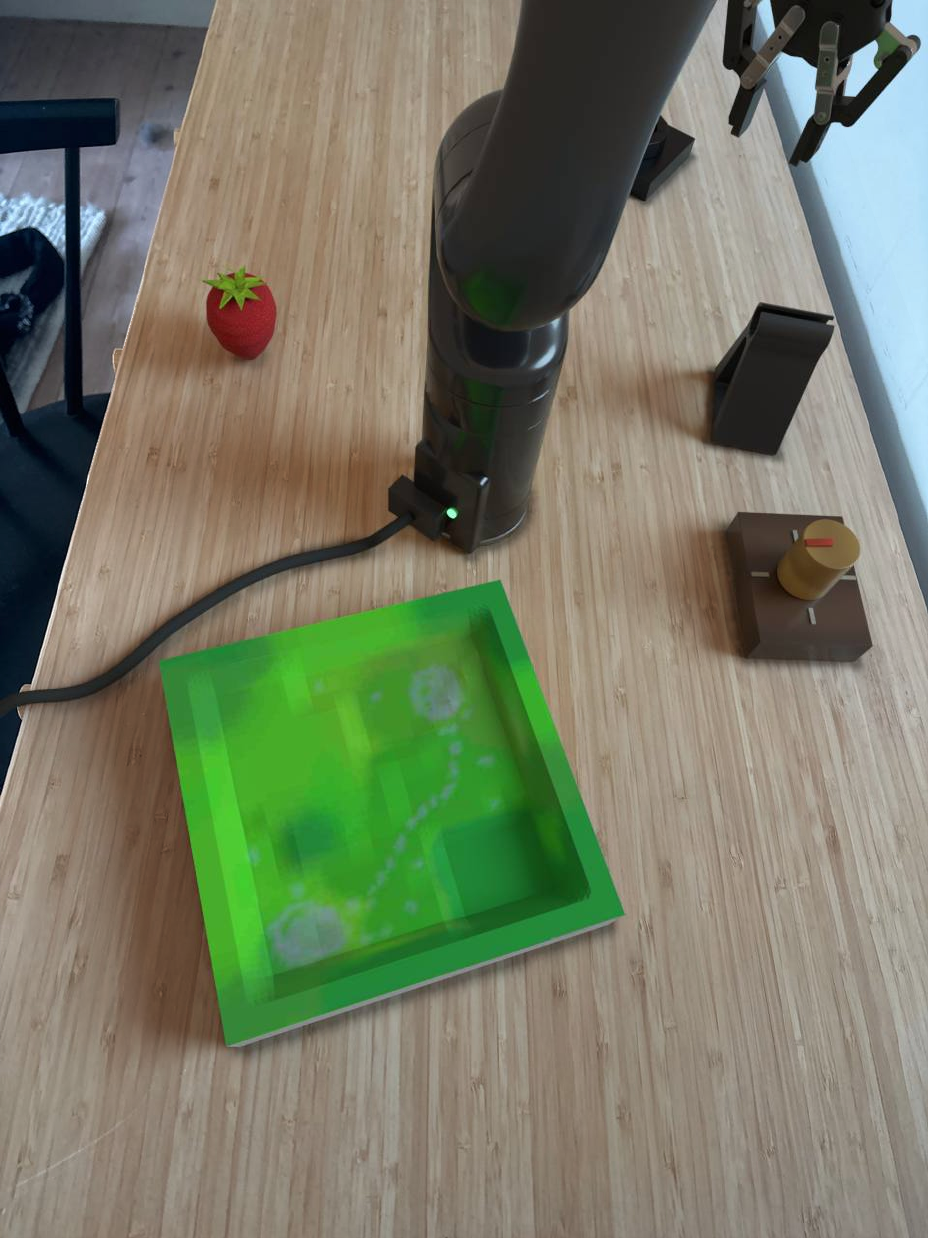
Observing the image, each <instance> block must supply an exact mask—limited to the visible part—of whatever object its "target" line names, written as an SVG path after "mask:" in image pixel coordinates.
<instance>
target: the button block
mask: <svg viewBox="0 0 928 1238" xmlns="http://www.w3.org/2000/svg"><path fill="white" fill-rule="evenodd" d="M695 141H696V137H694V136H692V135H689V134H688V133H686V132H684V131H682V130H679V129H678V128H676V127H674V126H672V125H670V124H669V123H668V122H667V121H666V119H665V118H664V116H662V115H661V114H660V117H659V119H658V121H657V124H656V126H655V129H654V132H653V134H652V136H651V138H650V141H649V143H648V146H647V148H646V151H645V153H644V156H643V159H642V161H641V164H640V167H639V170H638V172H637V175H636V178H635V180H634V183H633V186H632V188H631V191H630V194H629V195H631V196H633V197H635V198H637V199H639V200H641V201H643V202H646V201H647V200H649V198H651V196H652V195H653V194H654V193H655V192H656V191H657V190H658V189H659V188H660V187H661V186H662V185H663V184H664V183H665V182H666V181H667V180H668V179H669V178H670V177H671V176H672V175H673V174H674V173H675V172H676V171H677V170H678V169H679V167H681V166H682V165H683V164H684V162H686V161H687V160H688V159H689V158H690V156H691V153H692V150H693V147H694V144H695Z"/></svg>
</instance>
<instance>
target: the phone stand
mask: <svg viewBox="0 0 928 1238" xmlns="http://www.w3.org/2000/svg"><path fill="white" fill-rule="evenodd" d="M834 319H835V316H834V315H832V314H826V313H822V312H816V311H810V310H806V309H801V308H795V307H789V306H784V305H778V304H773V303H768V302H762V301H760V302H759V303H757V305H756V306H755V309H754V311H753V313H752V316H751V317H750V319H749V322H748V323H747V325H746V326H745V328H744V329H743V330H742V331H741V332H740V334H739V336H737V338H736V339H735V341H734V342H733V344H732V345H731V346H730V348H729V349H728V350H727V352H726V353H725V354H724V356H723V357H722V358H721V360H720V361H719V363H718V364H717V365H716V366H715V368H714V370H713V382H712V383H713V388H712V405H711V406H712V407H711V421H710V422H711V425H710V444H715V445H721V446H727V447H731V448H732V447H733V448H738V449H743V450H748V451H752V452H753V451H754V452H759V453H764V454H768V455H769V454H770V455H775V456H776V455H777V454H778V452H779V449H780V447H781V445H782V443H783V441H784V438H785V436H786V434H787V431H788V429H789V427H790V425H791V422H792V420H793V419H794V417H795V414H796V412H797V409H798V407H799V404H800V403H801V400H802V398H803V396H804V395H805V394H804V393H805V391H806V389H807V387H808V384H809V382H810V380H811V378H812V376H813V373H814V371H815V369H816V367H817V364H818V363H819V362H820V361H819V360H820V359H821V357H822V356H823V354H824V353H825V351H826V350H827V349H828V347H829V345H830V343H831V340H832V337H833V335H834V331H835V325H834V324H828V322H829V321H831V322H833V321H834Z"/></svg>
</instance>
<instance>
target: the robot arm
mask: <svg viewBox="0 0 928 1238" xmlns="http://www.w3.org/2000/svg"><path fill="white" fill-rule="evenodd" d="M763 1H764V0H727V6H726V7H727V8H726V18H725V30H724V39H723V49H722V65H723V67H724V69H725V70H727V71H733V72H734V73H735V74H736V75H737V76H738V78H739V87H738V90H737V92H736V95H735V97H734V100H733V103H732V105H731V109H730V111H729V114H728V117H727V118H728V123H727V124H728V125H730V126H731V129H730V135H731V136H733V137H735V138H740V137H741V136H742V135H743V134H744V133H745V132H746V131H747V130H748V129H749V127H750V126H751V123H752V122H753V118H754V116H755V113H756V110H757V109H758V105H759V104H760V101H761V98H762V95H763V93H764V90H765V88H766V85H767V83H768V79H766V75H767V74H768V73H769V71H770V70H771V69H772V68H773V66H774V65H775V64H776V62H777V61H778V60H779V59H780V57H781V56H782V55H783V54H784V55H787V56H789V57H794V58H800V59H803V61H804V62H806V63H807V64H808V65H809V66H810V67H812V68H815V69H816V75H815V82H814V90H815V91H816V95H815V102H814V110H813V113H812V115H811V116H810V117H808V119H807V121H806V123H805V125H804V128H803V130H802V132H801V134H800V137H799V138H798V141H797V142H796V144H795V148H794V150H793V151H792V154H791V157H790V159H789V161H788V164H789V165H791V166H792V167H795V168H798V167H799V166H800V165H801V163H805V164H807V163H809V161H811V159H812V158H814V156H815V155H816V154H817V153H818V151H819V150H820V148H821V147H822V144H823V143H824V141H825V138H826V136H827V134H828V132H829V130H830V127H831V126H832V124H834V123H838V124H840V125H841V126H842V127H844V128H851V127H853V126H854V125H855V124H856V123H857V122H858V120H859V119H860V118H861V117H862V116H863V115H864V114H865V112H866V111H867V110H869V108H870V107H871V106H872V105H873V104H874V102H875V101H876V100H877V99H878V98H879V96H880V95H881V94H882V93H883V92H884V91H885V90H886V88H887V87H888V86H889V85H890V84H891V83H892V81H893V80H895V78H896V77H897V76H898V75H899V74H900V72H901V71H902V70H903V69H904V68H905V67H906V65H907V64H908V63H909V62H910V61H911V60H912V58H913V57H914V56H915V55H916V54H917V53H918V51H919V50H920V49H921V45H922V40H921V38H920V37H919V36H918V35H916V34H910V35H907V36H905V34H904V33H903V32H902V31H900V30H899V28H897V27H896V26H895V25H894V24H893V23H892V22H891V20H892V16H893V1H894V0H769V4H770V8H771V15H772V21H773V26H774V30H773V32H772V33H771V35H769V37H768V38H767V40H766V41H765V42H764V44H763V45H762V46H761V48H760V49H759V51H758V52H756V51H755V49H753V47H754V46H753V45H754V40H755V39H754V38H755V29H756V21H757V12H758V11H757V10H758V6H759V5H760V4H761V3H762V2H763ZM717 2H718V0H520V9H519V17H518V22H517V28H516V34H515V39H514V45H513V51H512V55H511V58H510V63H509V66H508V71H507V75H506V79H505V82H504V85H503V87H502V88H500V89H496V90H494V91H491V92H488V93H486V94H484V95H482V96H480V97H479V98H477V99H475V100H474V101H473V102H472V103H470V104H469V105H467V106H466V107H465V108H464V109H463V110H462V111H461V112H460V113H459V114H458V115H457V116H456V118H455V119H453V121H452V122H451V124H450V125H449V127H448V128H447V130H446V132H445V133H444V135H443V138H442V140H441V142H440V144H439V147H438V150H437V153H436V157H435V161H434V167H433V178H432V188H431V189H432V191H431V193H432V194H431V214H430V237H429V259H428V260H429V262H428V279H427V324H426V325H427V326H426V327H427V328H426V329H427V330H426V331H427V332H426V333H427V336H426V354H425V355H426V356H425V357H426V359H425V374H424V388H423V389H424V390H423V404H422V405H423V407H422V422H421V423H422V424H421V440H419V442H417V444H416V445H415V446H414V467H413V480H412V479H411V478H409V477H408V476H406V475H404V474H401V475H400V476H399V477H397V478H396V480H395V481H394V482H393V483H392V484H391V485H390V486H389V487H388V488H387V511H388V513H390V514H392V515H393V516H395V519H393V520H392V521H391V522H389V523H387V524H386V525H384V526H383V527H381V528H379V529H378V530H376V531H375V532H373V533H372V534H370V535H368V536H366V537H363V538H360V539H357V540H353V541H350V542H347V543H343V544H339V545H334V546H330V547H329V546H328V547H324V548H319V549H315V550H310V551H305V552H304V551H303V552H300V553H296V554H292V555H289V556H286V557H282V558H279V559H276V560H274V561H271V562H268V563H265V564H264V565H261V566H259V567H256V568H255V569H252V570H250V571H248V572H245V573H244V574H242V575H240V576H237V577H236V578H234V579H232V580H230V581H228V582H226V583H225V584H223V585H222V586H219V587H218V588H216V589H215V590H213V591H212V592H210V593H208V594H206V595H205V596H203V597H202V598H201V599H199V600H197V601H195V602H194V603H193V604H191V605H190V606H188V607H186V608H185V609H183V610H182V611H181V612H178V613H177V614H176V615H175V616H173V617H172V618H170V619H168V620H167V621H166V622H165V623H163V624H162V625H161V626H159V627H158V628H157V629H156V630H155V631H154V632H152V633H151V634H150V635H149V636H148V637H146V639H144V640H143V641H142V642H141V643H140V644H139V645H138V646H137V647H136V648H135V649H133V651H131V652H130V653H129V654H128V655H126V656H125V658H123V659H122V660H120V661H119V662H118V663H116V664H115V665H114V666H112V667H111V668H110V669H108V670H106V671H104V672H103V673H102V674H100V675H98V676H96V677H94V678H92V679H89V680H88V681H84V682H82V683H79V684H76V685H72V686H65V687H58V688H41V689H30V690H23V691H18V692H15V693H12V694H10V695H8V696H6V697H4V698H2V699H1V700H0V719H1V718H4V717H6V716H7V715H8V714H9V713H10V712H11V711H13V710H15V709H17V708H19V707H23V706H24V707H25V706H27V705H36V704H37V705H38V704H50V703H51V704H52V703H61V702H70V701H74V700H79V699H82V698H87V697H89V696H92V695H94V694H97V693H98V692H101V691H103V690H104V689H106V688H108V687H109V686H111V685H113V684H115V683H117V682H118V681H119V680H120V679H122V678H123V677H125V676H126V675H127V674H129V673H130V672H131V671H132V670H134V669H135V668H137V666H139V665H140V664H141V662H143V661H144V660H145V659H146V658H147V657H148V656H150V655H151V653H153V652H155V650H156V649H157V648H158V647H160V646H161V645H162V644H163V643H164V642H165V641H166V640H167V639H169V638H170V637H171V636H173V634H175V633H176V632H178V631H179V630H181V629H182V628H183V627H185V626H186V625H188V624H189V623H190V622H193V621H194V620H195V619H197V618H198V617H200V616H201V615H203V614H204V613H206V612H208V611H209V610H211V609H212V608H214V607H215V606H217V605H219V604H220V603H221V602H223V601H225V600H227V599H228V598H229V597H231V596H233V595H235V594H237V593H239V592H240V591H242V590H244V589H246V588H248V587H250V586H252V585H254V584H255V583H258V582H260V581H263V580H265V579H267V578H270V577H273V576H274V575H277V574H280V573H283V572H286V571H289V570H291V569H296V568H299V567H302V566H303V567H304V566H306V565H311V564H315V563H321V562H325V561H330V560H334V559H339V558H345V557H349V556H353V555H356V554H359V553H362V552H365V551H368V550H371V549H373V548H375V547H378V546H379V545H381V544H382V543H383V542H386V541H387V540H388V539H390V538H392V537H393V536H395V535H396V534H398V533H399V532H401V531H403V529H405V528H406V527H408V526H410V527H412V528H413V529H415V530H416V531H417V532H419V533H420V534H422V535H423V536H425V537H427V538H428V539H430V540H431V541H433V542H435V541H436V540H437V539H438V538H439V537H441V538H443V539H444V540H447V541H448V542H450V543H451V544H452V545H454V546H455V547H457V548H459V549H460V550H462V551H463V552H465V553H466V554H468V555H472V554H473V553H474V552H476V550H477V549H478V548H479V547H484V546H490V545H494V544H496V543H497V544H498V543H500V542H501V541H504V540H506V539H507V538H509V537H511V536H512V535H513V534H514V533H515V532H516V531H517V530H518V529H519V528H520V526H521V525H522V524H523V522H524V520H525V518H526V515H527V511H528V507H529V500H530V495H531V491H532V486H533V482H534V479H535V475H536V471H537V466H538V463H539V459H540V455H541V451H542V446H543V443H544V439H545V435H546V431H547V427H548V423H549V419H550V415H551V411H552V407H553V405H554V400H555V396H556V394H557V393H556V392H557V388H558V384H559V381H560V376H561V372H562V369H563V365H564V361H565V357H566V352H567V348H568V343H569V333H570V331H569V330H570V310H571V309H573V308H574V307H575V306H576V305H577V304H578V303H579V302H580V301H581V300H582V299H583V298H584V297H585V296H586V295H587V293H588V292H589V290H590V289H591V288H592V286H593V285H594V283H595V282H596V280H597V279H598V277H599V275H600V273H601V271H602V268H603V267H604V264H605V263H606V260H607V257H608V255H609V253H610V250H611V246H612V244H613V242H614V239H615V237H616V233H617V230H618V227H619V225H620V222H621V218H622V216H623V213H624V210H625V207H626V204H627V203H628V199H629V197H630V195H631V194H630V191H631V188H632V186H633V183H634V180H635V178H636V175H637V172H638V170H639V167H640V164H641V161H642V159H643V156H644V153H645V151H646V148H647V146H648V143H649V141H650V138H651V136H652V133H653V131H654V128H655V126H656V124H657V121H658V119H659V117H660V115H661V114H662V112H663V110H664V107H665V105H666V103H667V101H668V98H669V96H670V94H671V92H672V91H673V89H674V86H675V84H676V82H677V80H678V78H679V76H680V74H681V72H682V70H683V68H684V66H685V64H686V62H687V60H688V59H689V57H690V55H691V53H692V51H693V49H694V47H695V45H696V43H697V41H698V39H699V38H700V35H701V34H702V31H703V29H704V27H705V25H706V24H707V21H708V19H709V18H710V15H711V13H712V11H713V9H714V7H715V5H716V3H717ZM873 42H876V44H877V51H876V52H875V53H876V54H875V55H874V56H873V65H874V67H875V69H877V70H876V72H874V74H873V75H872V76H871V77H870V79H868V81H867V82H866V83H865V85H864V86H863V87H862V88H861V89H860V90H859V92H858V93H857V94H856V95H855V96H853V95H846V89H847V83H848V78H849V75H850V73H851V70H852V65H853V59H854V54H855V53H857V52H859V51H860V50H862V49H864V48H865V47H867V46H868V45H870V44H872V43H873Z"/></svg>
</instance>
